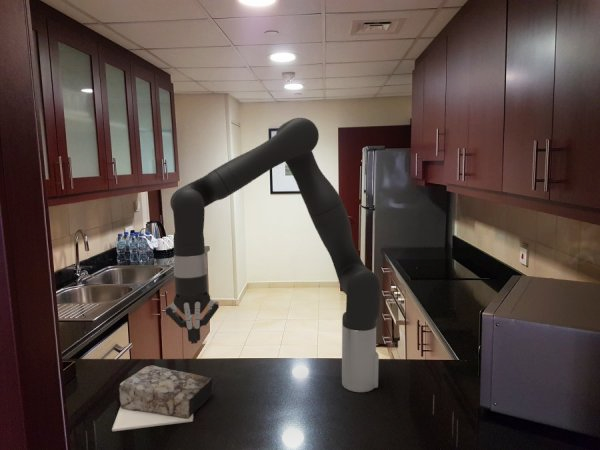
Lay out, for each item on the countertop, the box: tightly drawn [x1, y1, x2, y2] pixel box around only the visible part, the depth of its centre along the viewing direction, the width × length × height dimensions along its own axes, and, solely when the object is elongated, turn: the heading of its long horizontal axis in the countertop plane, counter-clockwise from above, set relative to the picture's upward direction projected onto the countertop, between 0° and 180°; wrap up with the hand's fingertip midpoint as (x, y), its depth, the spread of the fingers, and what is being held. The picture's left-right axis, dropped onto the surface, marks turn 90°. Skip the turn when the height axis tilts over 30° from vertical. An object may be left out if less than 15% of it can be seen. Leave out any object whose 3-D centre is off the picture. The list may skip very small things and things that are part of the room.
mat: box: [111, 405, 194, 432], centre depth 106 cm, size 18×11×1 cm, turn 102°
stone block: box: [118, 365, 215, 418], centre depth 110 cm, size 13×7×20 cm
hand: (194, 342), depth 104 cm, fingers closed
